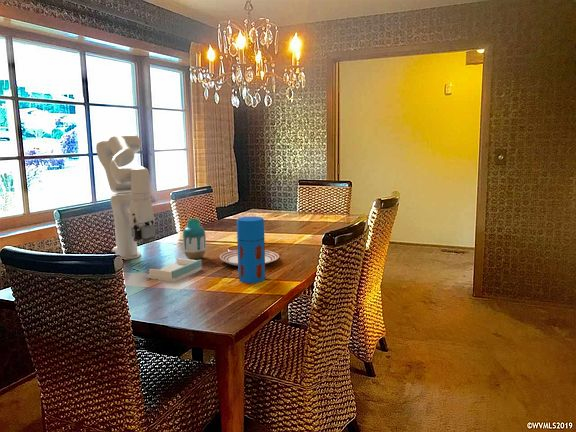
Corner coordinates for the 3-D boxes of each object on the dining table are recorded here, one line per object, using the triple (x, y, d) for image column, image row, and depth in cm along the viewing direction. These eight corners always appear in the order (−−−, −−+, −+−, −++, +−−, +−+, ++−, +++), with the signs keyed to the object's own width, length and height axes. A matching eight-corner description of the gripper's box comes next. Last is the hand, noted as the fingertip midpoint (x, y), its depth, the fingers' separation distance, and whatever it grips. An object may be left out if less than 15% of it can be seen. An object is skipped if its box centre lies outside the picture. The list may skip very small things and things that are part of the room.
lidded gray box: (132, 241, 199) (130, 221, 198) (141, 238, 204) (139, 218, 203) (146, 243, 196) (145, 222, 195) (155, 240, 201) (154, 220, 199)
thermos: (265, 274, 192) (264, 216, 188) (265, 282, 182) (263, 220, 178) (239, 275, 192) (237, 216, 188) (237, 283, 182) (235, 221, 177)
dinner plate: (268, 252, 231) (268, 246, 230) (287, 266, 206) (287, 259, 205) (214, 258, 221) (213, 251, 221) (227, 273, 196) (227, 266, 195)
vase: (184, 262, 214) (182, 221, 210) (183, 256, 224) (181, 218, 220) (207, 260, 216) (205, 220, 213) (205, 254, 226) (203, 216, 223)
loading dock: (147, 278, 190) (146, 267, 189) (176, 266, 207) (175, 256, 206) (174, 282, 184) (173, 271, 183) (201, 269, 201) (201, 259, 200)
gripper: (147, 193, 206) (150, 233, 209) (119, 198, 191) (122, 241, 194) (161, 194, 203) (163, 234, 206) (133, 199, 188) (136, 242, 191)
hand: (143, 237), depth 200 cm, fingers closed on lidded gray box, 5 cm apart
